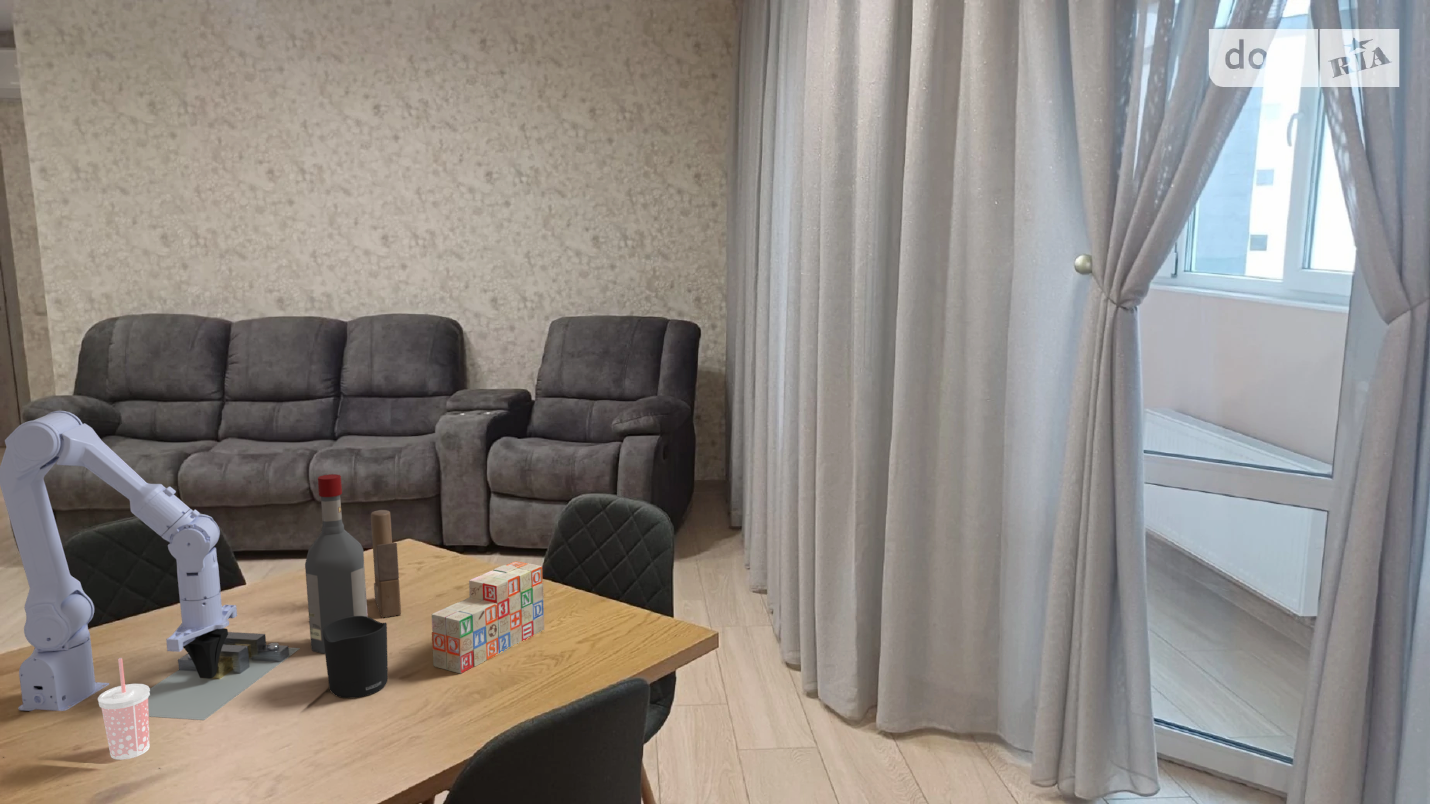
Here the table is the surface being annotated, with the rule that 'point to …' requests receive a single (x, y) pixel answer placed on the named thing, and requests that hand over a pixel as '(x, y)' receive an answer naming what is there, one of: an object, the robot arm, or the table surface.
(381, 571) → the wooden block
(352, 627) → the pen holder
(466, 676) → the table surface
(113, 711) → the beverage cup
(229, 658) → the link bar
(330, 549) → the liquor
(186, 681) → the mat
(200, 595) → the robot arm
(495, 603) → the stack of blocks
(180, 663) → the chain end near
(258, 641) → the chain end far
